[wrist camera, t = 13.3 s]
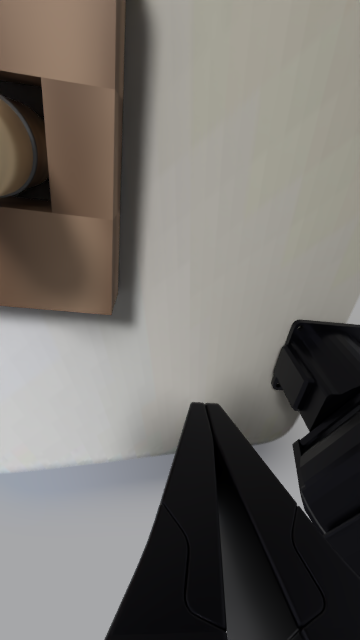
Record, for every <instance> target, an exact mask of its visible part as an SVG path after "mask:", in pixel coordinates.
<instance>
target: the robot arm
mask: <svg viewBox="0 0 360 640" xmlns="http://www.w3.org/2000/svg"><path fill="white" fill-rule="evenodd" d="M301 325H302V326H301ZM299 326H301V328H298V327H299ZM297 328H298V329H297ZM277 383H279V384H277ZM271 384H272V386H273V388H274V389H276V390H283V391H284V393H285V395H286V397H287V399H288V401H289V403H290V405H291V407H292V408H293V409H294V410H295V411H299V412H300V414H301V416H302V418H303V420H304V422H305V424H306V426H307V428H308V429H309V431H310V433H308V434H307V435H306V436H305V437H303V438H302V439H301V440H299V439H298V440H297V441H296V442H295V443H294V444H293V450H294V457H295V463H296V468H297V475H298V482H299V488H300V494H301V498H302V502H303V505H304V509H305V511H306V513H307V514H308V516H309V518H310V519H311V521H312V522H311V521H310V519H309V518H308V517H307V516H306V514H305V513H304V512H303V511H302V509H301V508H300V507H299V506H297V503H296V502H295V501H294V499H293V498H292V497H291V495H290V494H289V493H288V492H287V490H286V489H285V488H284V486H283V485H282V484H281V483H280V482H279V480H278V479H277V478H276V476H275V475H274V474H273V473H272V471H271V470H270V469H269V467H268V466H267V465H266V464H265V462H264V461H263V460H262V458H261V457H260V456H259V455H258V453H257V452H256V451H255V450H254V448H253V447H252V446H251V444H250V443H249V442H248V441H247V439H246V438H245V437H244V436H243V434H242V433H241V432H240V430H239V429H238V428H237V427H236V425H235V424H234V423H233V422H232V420H231V419H230V418H229V416H228V415H227V414H226V413H225V411H224V410H223V409H222V408H221V406H220V405H219V404H217V403H205V404H204V403H200V402H192V403H191V404H190V407H189V410H188V414H187V417H186V420H185V423H184V427H183V430H182V433H181V436H180V440H179V443H178V446H177V450H176V453H175V456H174V459H173V463H172V466H171V469H170V472H169V476H168V479H167V483H166V486H165V489H164V493H163V495H162V499H161V503H160V505H159V508H158V511H157V514H156V518H155V521H154V524H153V527H152V530H151V532H150V535H149V539H148V541H147V544H146V546H145V549H144V551H143V554H142V556H141V558H140V561H139V563H138V566H137V568H136V570H135V573H134V575H133V577H132V579H131V582H130V584H129V586H128V588H127V590H126V593H125V595H124V597H123V599H122V602H121V604H120V606H119V608H118V611H117V613H116V615H115V617H114V620H113V622H112V624H111V626H110V628H109V631H108V633H107V635H106V637H105V640H360V325H354V324H343V323H332V322H320V321H309V320H297V321H295V322H294V323H293V324H292V327H291V330H290V332H289V335H288V338H287V341H286V343H285V345H284V346H283V347H282V350H281V353H280V355H279V358H278V361H277V364H276V366H275V369H274V376H273V379H272V382H271ZM226 631H227V633H226ZM227 635H228V638H227Z"/></svg>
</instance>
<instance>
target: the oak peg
mask: <svg viewBox="0 0 360 640" xmlns="http://www.w3.org/2000/svg"><path fill="white" fill-rule="evenodd" d="M48 177H49V170H48V158H47V146H46V133H45V123H44V121H43V120H42V119H41V117H40V116H39V115H38V114H37V113H36V112H35V111H33V110H32V109H31V108H30V107H28V106H27V105H25V104H23V103H21V102H18V101H16V100H13V99H10V98H7V97H4V96H2V95H1V94H0V198H3V197H9V196H12V195H15V194H18V193H20V192H21V191H23V190H24V189H28V188H31V187H35V186H37V185H39V184H41V183H43V182H44V181H45V180H46V179H47V178H48Z"/></svg>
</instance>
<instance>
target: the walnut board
mask: <svg viewBox="0 0 360 640" xmlns="http://www.w3.org/2000/svg"><path fill="white" fill-rule="evenodd" d="M125 10H126V0H0V80H3V81H9V82H15V83H21V84H27V85H33V86H39V87H42V97H43V109H44V121H45V133H46V146H47V158H48V170H49V182H50V195H51V201H47V200H38V199H30V198H22V197H14V196H9V197H3V198H0V306H9V307H21V308H33V309H45V310H57V311H68V312H80V313H92V314H104V315H112V311H113V308H114V305H115V302H116V298H117V295H118V273H119V235H120V198H121V160H122V123H123V85H124V48H125Z"/></svg>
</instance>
